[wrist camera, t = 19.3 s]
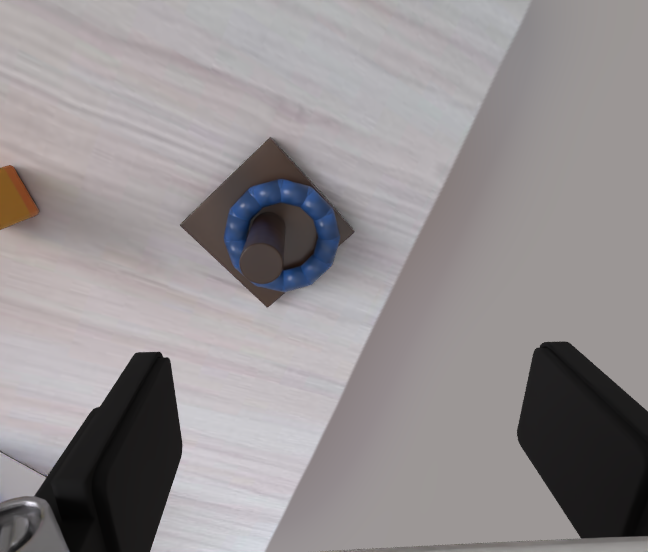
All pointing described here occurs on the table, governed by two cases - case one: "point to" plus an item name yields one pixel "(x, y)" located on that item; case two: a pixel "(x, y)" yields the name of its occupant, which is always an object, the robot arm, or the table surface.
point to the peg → (260, 223)
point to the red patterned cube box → (17, 479)
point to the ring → (297, 197)
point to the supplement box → (14, 199)
